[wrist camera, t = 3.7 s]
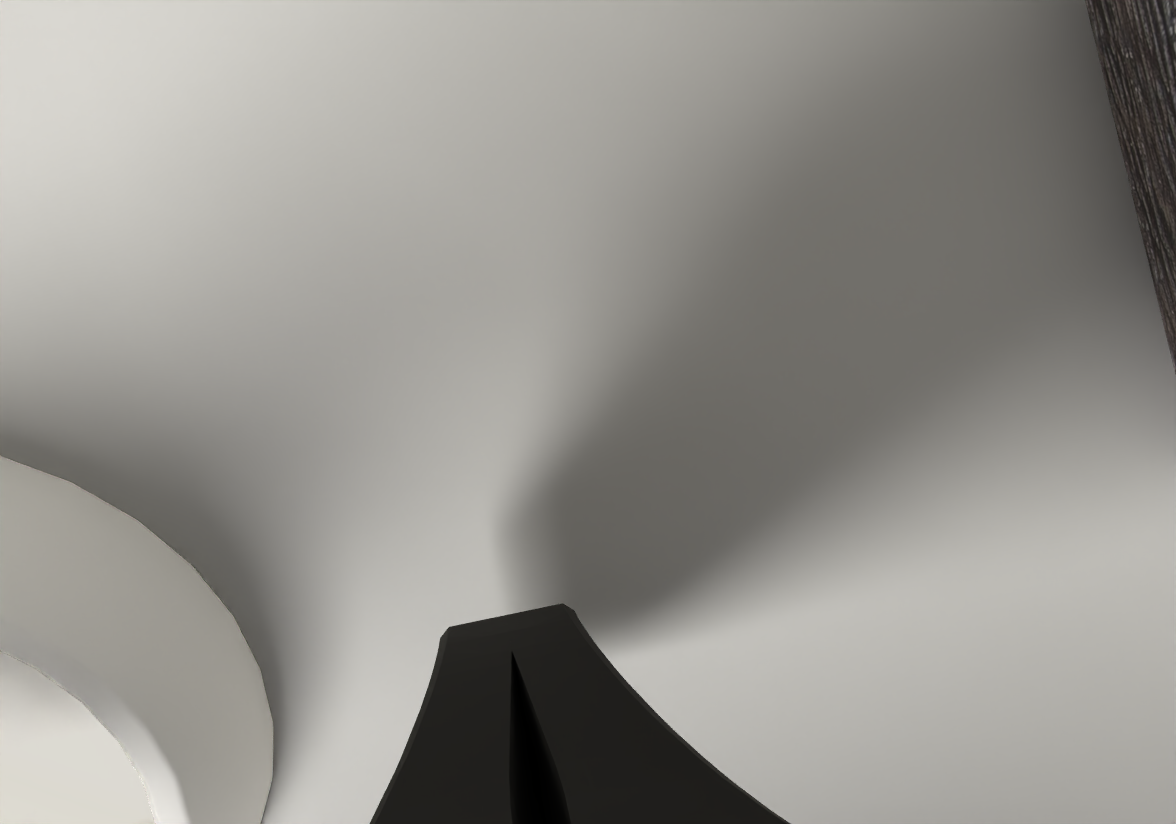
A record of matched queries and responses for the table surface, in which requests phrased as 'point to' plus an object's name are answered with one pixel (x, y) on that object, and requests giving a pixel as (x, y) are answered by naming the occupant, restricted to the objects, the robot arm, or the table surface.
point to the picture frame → (1145, 125)
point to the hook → (135, 647)
